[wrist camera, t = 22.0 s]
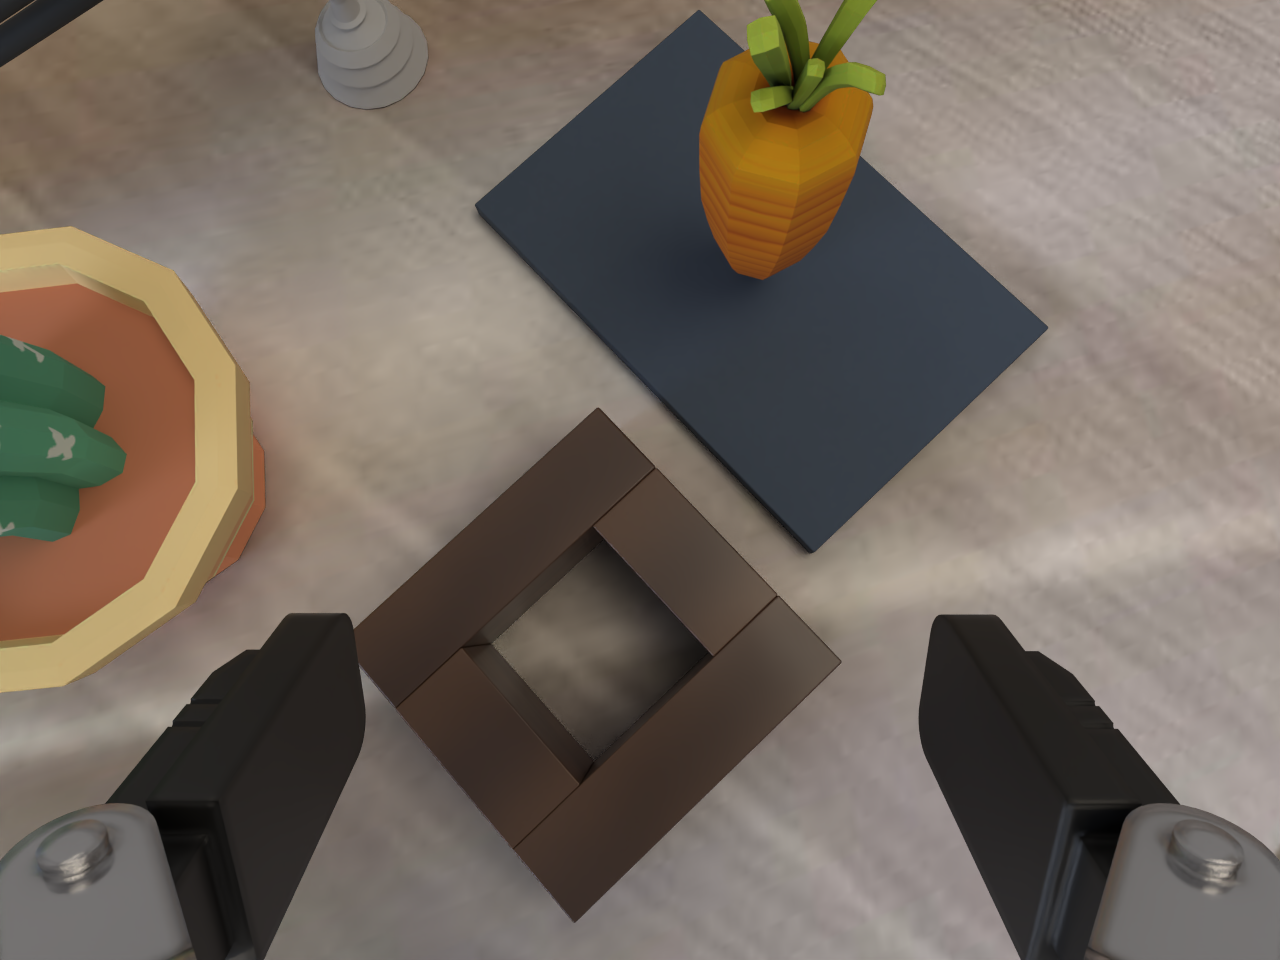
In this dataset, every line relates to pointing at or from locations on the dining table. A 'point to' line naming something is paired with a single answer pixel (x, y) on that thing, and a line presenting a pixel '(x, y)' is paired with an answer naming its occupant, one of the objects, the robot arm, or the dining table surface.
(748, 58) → the carrot
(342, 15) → the chalice
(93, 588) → the potted cactus
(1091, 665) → the dining table surface
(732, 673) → the stand
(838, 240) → the mat
